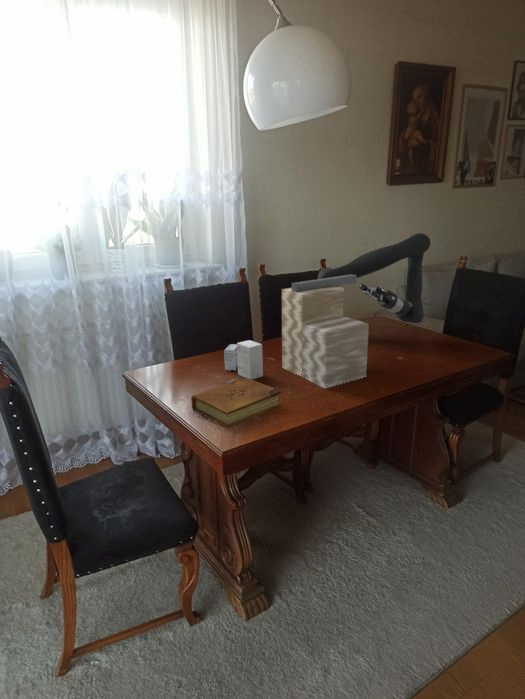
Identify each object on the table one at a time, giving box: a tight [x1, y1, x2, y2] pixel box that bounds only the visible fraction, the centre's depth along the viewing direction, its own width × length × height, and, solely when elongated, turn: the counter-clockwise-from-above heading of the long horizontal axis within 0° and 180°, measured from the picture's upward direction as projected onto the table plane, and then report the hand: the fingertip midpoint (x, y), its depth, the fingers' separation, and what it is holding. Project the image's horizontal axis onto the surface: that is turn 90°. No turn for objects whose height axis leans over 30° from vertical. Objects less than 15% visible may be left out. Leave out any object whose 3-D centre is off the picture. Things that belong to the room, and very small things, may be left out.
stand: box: [281, 286, 370, 389], centre depth 192 cm, size 27×20×32 cm
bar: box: [291, 274, 358, 292], centre depth 195 cm, size 3×30×3 cm, turn 123°
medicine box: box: [223, 343, 238, 372], centre depth 203 cm, size 8×4×9 cm, turn 168°
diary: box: [191, 377, 282, 428], centre depth 167 cm, size 23×19×6 cm
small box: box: [236, 339, 264, 380], centre depth 193 cm, size 8×6×13 cm
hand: (368, 287), depth 209 cm, fingers open, 8 cm apart
